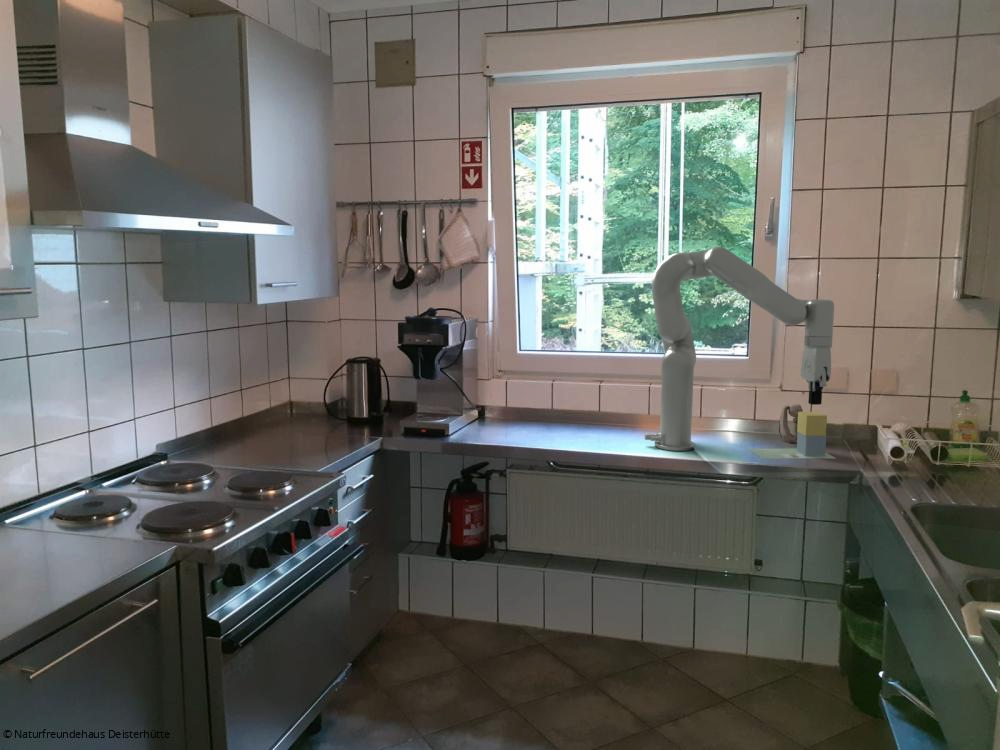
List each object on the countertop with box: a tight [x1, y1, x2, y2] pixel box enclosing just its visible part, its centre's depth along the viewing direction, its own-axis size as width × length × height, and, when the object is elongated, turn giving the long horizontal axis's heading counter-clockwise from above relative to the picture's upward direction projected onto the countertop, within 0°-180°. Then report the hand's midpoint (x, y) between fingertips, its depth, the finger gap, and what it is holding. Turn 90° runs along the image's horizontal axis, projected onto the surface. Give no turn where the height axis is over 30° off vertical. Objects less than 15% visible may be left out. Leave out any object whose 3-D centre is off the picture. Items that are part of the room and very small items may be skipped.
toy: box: [778, 403, 804, 444], centre depth 247 cm, size 9×8×15 cm
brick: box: [797, 411, 828, 437], centre depth 229 cm, size 6×6×6 cm
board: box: [747, 448, 837, 460], centre depth 230 cm, size 22×12×1 cm, turn 93°
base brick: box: [796, 432, 827, 456], centre depth 230 cm, size 6×6×6 cm
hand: (814, 403), depth 228 cm, fingers closed
